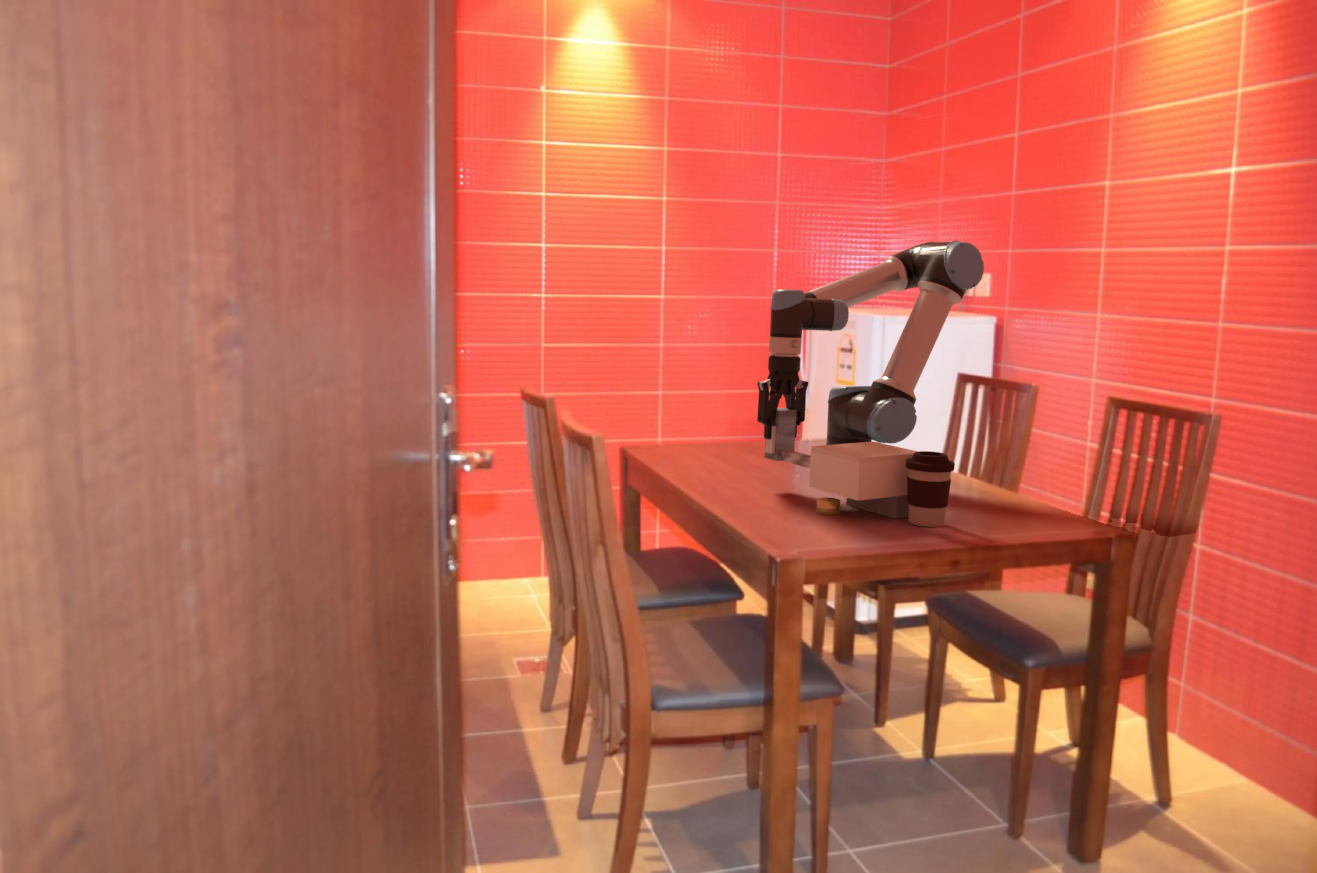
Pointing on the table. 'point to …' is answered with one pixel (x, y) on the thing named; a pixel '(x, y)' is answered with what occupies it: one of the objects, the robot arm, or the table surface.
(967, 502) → the table surface
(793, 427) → the grey l-shaped bracket
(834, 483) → the beige grey overhanging block
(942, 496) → the coffee cup
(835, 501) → the cylinder
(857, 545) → the table surface
